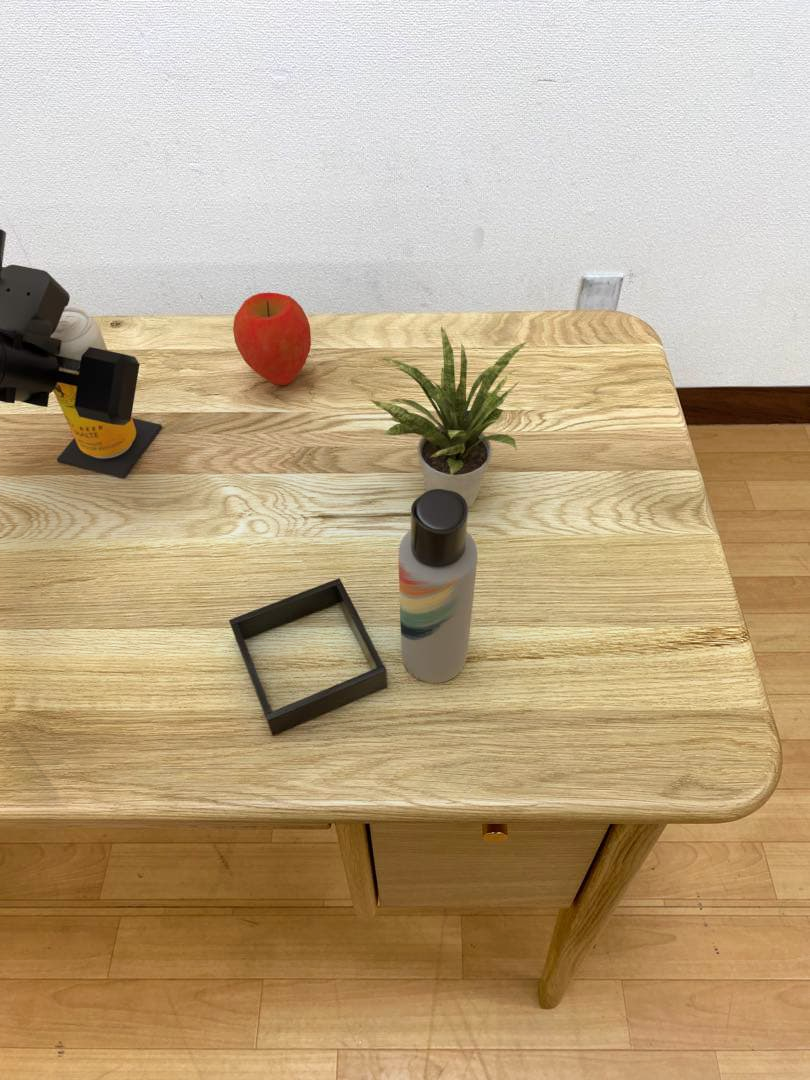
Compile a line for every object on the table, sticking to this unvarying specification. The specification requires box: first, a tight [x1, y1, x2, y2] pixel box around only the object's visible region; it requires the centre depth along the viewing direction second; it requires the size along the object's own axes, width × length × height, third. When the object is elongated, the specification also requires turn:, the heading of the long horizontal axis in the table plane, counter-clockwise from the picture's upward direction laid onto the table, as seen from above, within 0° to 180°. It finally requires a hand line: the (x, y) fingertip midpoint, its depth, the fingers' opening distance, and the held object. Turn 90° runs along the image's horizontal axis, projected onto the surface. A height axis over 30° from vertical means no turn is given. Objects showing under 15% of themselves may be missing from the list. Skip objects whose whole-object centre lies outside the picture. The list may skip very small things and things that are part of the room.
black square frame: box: [228, 577, 388, 737], centre depth 65 cm, size 10×10×3 cm
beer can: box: [51, 306, 136, 459], centre depth 76 cm, size 6×6×15 cm
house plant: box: [368, 324, 528, 509], centre depth 72 cm, size 14×14×16 cm
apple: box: [232, 292, 312, 386], centre depth 85 cm, size 9×8×11 cm
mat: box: [56, 417, 163, 479], centre depth 83 cm, size 8×8×1 cm
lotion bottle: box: [397, 489, 478, 684], centre depth 59 cm, size 6×6×20 cm
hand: (94, 380), depth 77 cm, fingers open, 7 cm apart
